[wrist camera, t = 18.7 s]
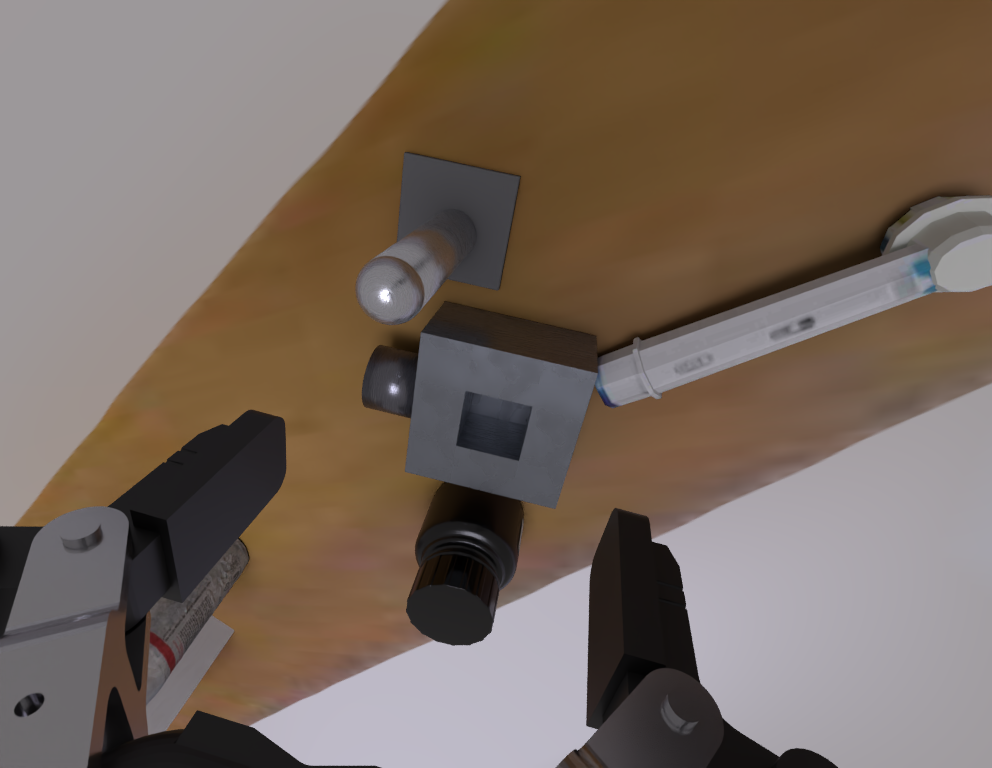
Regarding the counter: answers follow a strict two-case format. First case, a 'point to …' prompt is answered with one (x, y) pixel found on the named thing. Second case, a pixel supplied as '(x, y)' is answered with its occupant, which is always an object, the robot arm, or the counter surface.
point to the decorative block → (187, 675)
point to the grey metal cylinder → (414, 268)
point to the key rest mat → (470, 192)
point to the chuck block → (488, 400)
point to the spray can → (188, 617)
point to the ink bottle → (464, 563)
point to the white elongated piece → (815, 302)
